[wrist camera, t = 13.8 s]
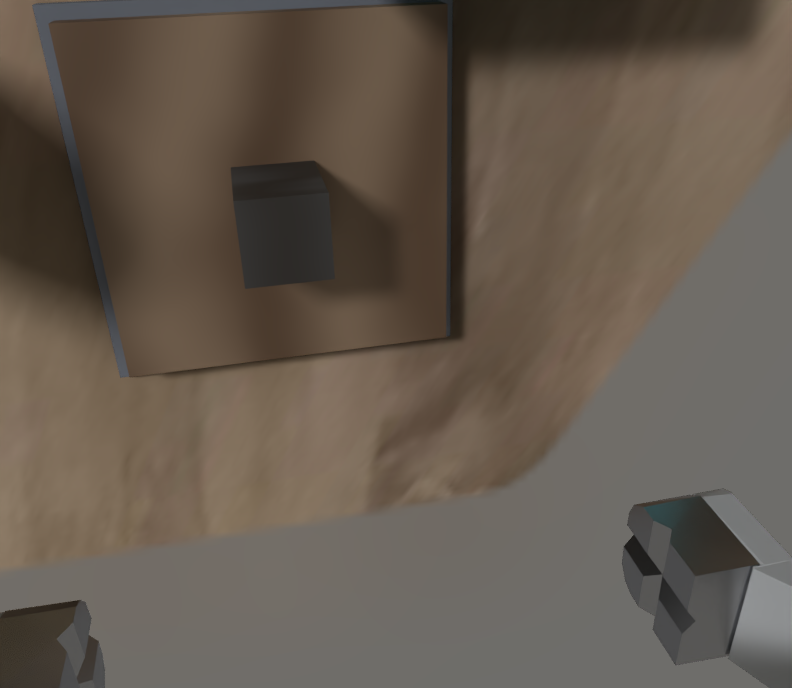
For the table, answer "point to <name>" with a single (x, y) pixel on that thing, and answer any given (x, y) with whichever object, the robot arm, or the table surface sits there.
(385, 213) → the lid
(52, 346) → the table surface
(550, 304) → the table surface
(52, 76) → the tray
